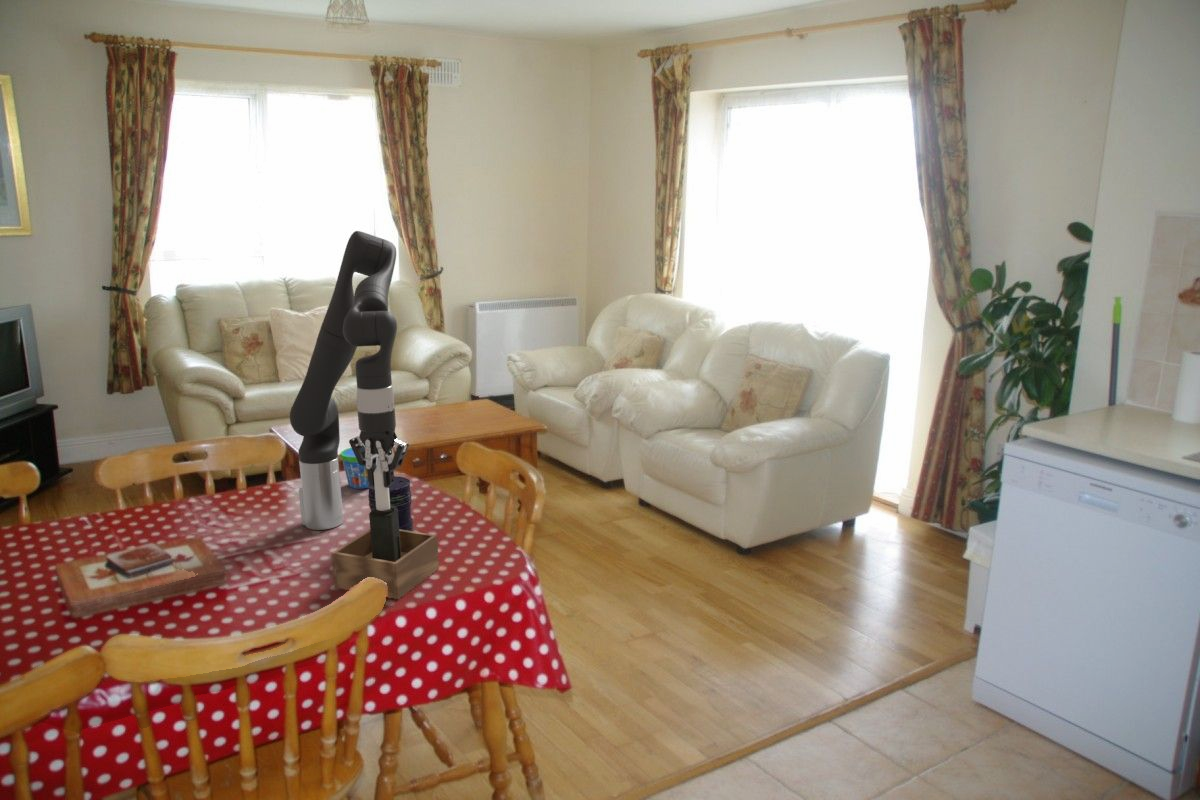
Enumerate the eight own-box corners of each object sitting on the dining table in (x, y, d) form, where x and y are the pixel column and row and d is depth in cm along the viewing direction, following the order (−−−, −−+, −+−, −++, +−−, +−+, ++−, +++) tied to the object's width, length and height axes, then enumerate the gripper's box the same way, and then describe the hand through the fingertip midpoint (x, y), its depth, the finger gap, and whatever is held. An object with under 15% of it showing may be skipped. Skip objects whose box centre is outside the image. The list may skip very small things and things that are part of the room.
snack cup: (335, 481, 257) (332, 447, 254) (370, 474, 263) (368, 441, 260) (353, 497, 244) (350, 461, 242) (390, 489, 250) (388, 454, 248)
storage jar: (377, 553, 208) (373, 493, 204) (367, 539, 217) (362, 480, 213) (419, 545, 213) (415, 485, 209) (407, 531, 221) (404, 473, 217)
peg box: (334, 587, 191) (331, 552, 189) (378, 558, 206) (375, 525, 204) (398, 599, 186) (396, 564, 184) (438, 568, 200) (437, 535, 198)
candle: (393, 571, 192) (385, 460, 186) (371, 570, 193) (362, 459, 187) (403, 561, 197) (395, 453, 191) (381, 560, 198) (373, 452, 192)
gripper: (336, 408, 185) (343, 487, 190) (394, 414, 180) (400, 495, 185) (358, 399, 192) (364, 476, 196) (415, 405, 187) (419, 483, 192)
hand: (381, 485), depth 191 cm, fingers closed on candle, 3 cm apart
